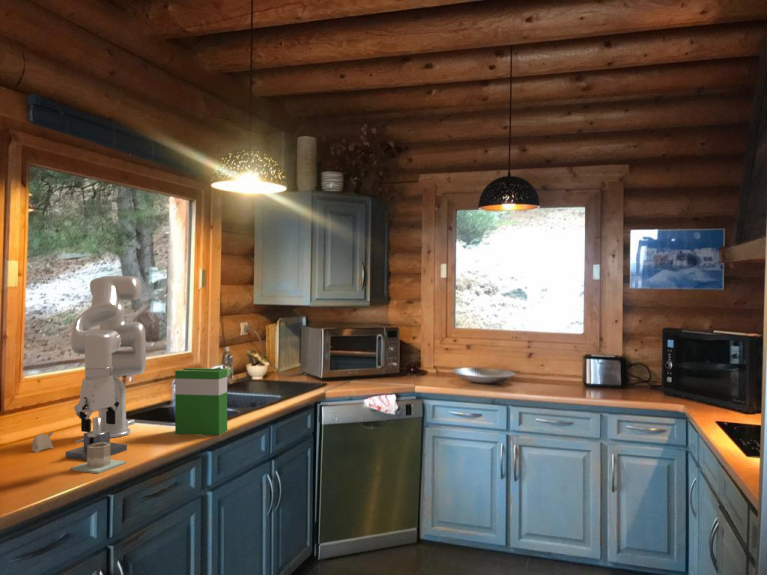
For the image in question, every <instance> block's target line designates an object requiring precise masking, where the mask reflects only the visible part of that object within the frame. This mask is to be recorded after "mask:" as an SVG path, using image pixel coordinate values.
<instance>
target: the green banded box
mask: <svg viewBox="0 0 767 575" xmlns="http://www.w3.org/2000/svg"><path fill="white" fill-rule="evenodd" d="M174 379H175V380H174V389H175V390H174V392H175V393H174V396H175V397H174V399H175V400H174V402H175V403H174V404H175V405H174V406H175V408H174V410H175V411H174V413H175V414H174V418H175V419H174V420H175V421H174V422H175V424H174V426H175V431H174V432H175V434H176V435H195V434H202V435H203V436H221V435H222V434H224V433H226V432H227V431H228V368H205V367H204V368H195V367H194V368H193V367H192V368H191V367H188V368H187V367H186V368H185V367H184V368H183V370H181V369H179V370H174Z"/></svg>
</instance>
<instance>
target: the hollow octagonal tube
mask: <svg viewBox="0 0 767 575" xmlns="http://www.w3.org/2000/svg"><path fill="white" fill-rule="evenodd" d="M110 443H111V442H110ZM110 443H105V442H102V443H94V444H90V445H87V460H86V462H87V467H91V468H97V467H104V466H107V465H110V460H111V456H110Z"/></svg>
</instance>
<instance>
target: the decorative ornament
mask: <svg viewBox="0 0 767 575" xmlns="http://www.w3.org/2000/svg"><path fill="white" fill-rule="evenodd" d="M53 434H54V431H50V432H49V433H48V434H46V433H41V434H38V435H36V436H34V438H33V440H32V443H31V445H32V446H31V447H32V449H31V451H32V452H34V453H35V454H36V453H39V452H40V451H44V450H47V449H55V447H54V446H53V444H52V443H53V442H52V439H51V438H50V437H51V436H53Z"/></svg>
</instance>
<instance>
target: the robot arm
mask: <svg viewBox="0 0 767 575" xmlns="http://www.w3.org/2000/svg"><path fill="white" fill-rule="evenodd" d="M89 289H90V293H91V295H92V299H91V304H90V305H91V307H89V308H88V309H86V310H85V311H84V312H82V313H81V314H80V315H79V316H78V317H77V318H76V319H75V320H74V323H73V326H72V332H71V336H70V337H71V338H70V347H71V350H72V352H74V353H75V354H78V355H84V378H82V380H81V384H80V385H81V386H80V393H79V395H80V396H79V402H78V403H76V405H75V406H74V408H73V410H74V411H75V413H76V416H77V417H78V418H79V419H80V429H81V430H80V431H81V432H84V433H87V432H91V431H92V419H91V415H92V413H93V412H98V413H97V414H98V417H101V431H105V432H110V439H111V438H119V437H124V436H127V435H129V434H130V433H131V428H129V427H130V426H133V425H135V423H136V421H135V419H129V420H128V419H127V409H126V408H127V406H126V405H127V388H126V385H125V383H124V382H123V381H122V379H121V378H119V377H121V376H122V377H123V376H136V375H139V376H140V375H142V374H143V373H144V372H146V371H145V370H146V366H147V359H146V358H147V355H146V354H147V353H146V352H147V348H146V347H147V346H146V344H147V343H146V342H147V341H146V339H147V338H146V329H145V326H144V324H143V323H141V322H139V321H125V308H124V307H123V305H122V304H121V303H120V301H137V300H139V299H140V297H141V294H142V282H141V280H140V279H139V278H138V277H136V276H132V275H130V276H129V275H108V276H107V275H105V276H100V277H96V278H93V279H92V280H90V283H89ZM98 325H99V329H91V330H90V328H93V327H96V326H98ZM88 329H89V330H88ZM129 347H130V348H132V350H131V349H130V350H128V349H126V350H119V348H129Z"/></svg>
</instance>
